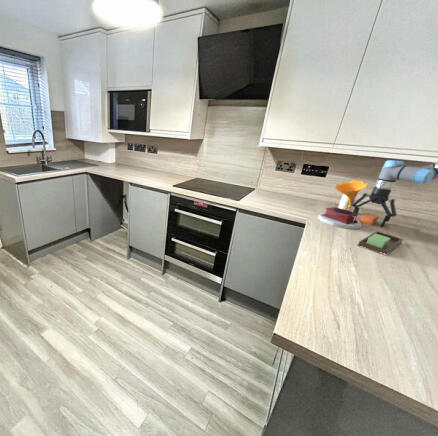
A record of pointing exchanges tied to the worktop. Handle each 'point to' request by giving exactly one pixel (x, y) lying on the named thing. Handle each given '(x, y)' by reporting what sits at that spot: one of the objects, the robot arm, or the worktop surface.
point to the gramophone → (344, 216)
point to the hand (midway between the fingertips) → (367, 221)
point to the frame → (391, 245)
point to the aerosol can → (345, 202)
